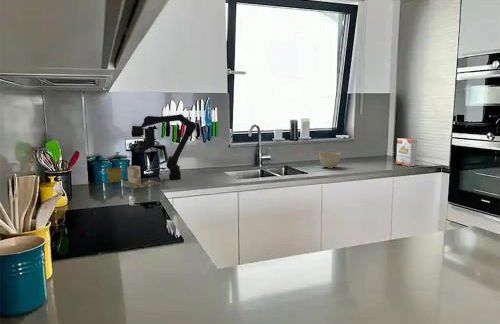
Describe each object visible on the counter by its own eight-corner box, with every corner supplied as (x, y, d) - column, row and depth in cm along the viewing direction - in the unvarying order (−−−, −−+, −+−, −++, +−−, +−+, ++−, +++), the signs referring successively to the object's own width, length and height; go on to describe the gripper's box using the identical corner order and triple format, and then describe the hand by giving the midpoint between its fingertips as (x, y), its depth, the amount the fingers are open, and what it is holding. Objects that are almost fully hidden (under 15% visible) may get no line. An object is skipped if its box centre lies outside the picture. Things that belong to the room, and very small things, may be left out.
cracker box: (395, 164, 303) (396, 138, 300) (401, 164, 306) (402, 137, 303) (409, 167, 291) (411, 139, 288) (415, 166, 293) (417, 139, 290)
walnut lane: (152, 183, 232) (152, 177, 232) (162, 185, 226) (162, 178, 225) (123, 188, 218) (123, 181, 217) (133, 191, 211) (133, 183, 211)
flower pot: (107, 182, 236) (106, 168, 234) (122, 181, 239) (122, 167, 238) (107, 185, 228) (106, 170, 226) (123, 184, 231) (122, 169, 229)
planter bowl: (341, 169, 282) (341, 154, 280) (318, 169, 285) (318, 154, 283) (340, 166, 297) (340, 152, 296) (319, 165, 300) (319, 151, 299)
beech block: (136, 184, 221) (135, 165, 219) (141, 185, 217) (140, 166, 216) (128, 186, 217) (127, 166, 216) (133, 187, 214) (132, 167, 212)
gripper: (155, 135, 245) (156, 159, 247) (128, 137, 231) (129, 163, 234) (165, 136, 238) (166, 161, 240) (139, 138, 224) (140, 164, 226)
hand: (150, 162), depth 235 cm, fingers closed
